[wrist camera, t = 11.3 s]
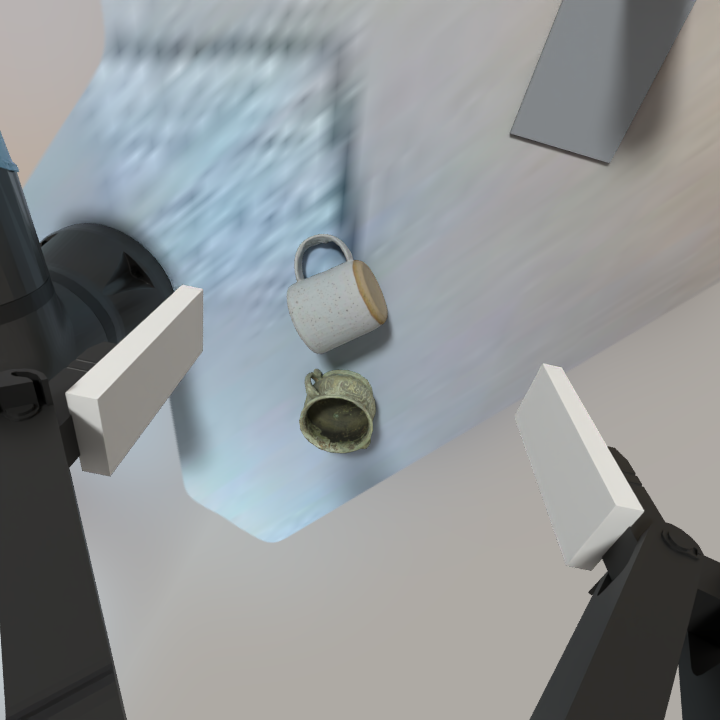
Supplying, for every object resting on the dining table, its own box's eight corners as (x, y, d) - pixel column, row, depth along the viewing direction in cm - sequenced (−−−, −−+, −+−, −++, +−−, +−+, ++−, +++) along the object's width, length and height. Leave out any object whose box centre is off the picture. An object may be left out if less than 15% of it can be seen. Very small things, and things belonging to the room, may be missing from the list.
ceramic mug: (394, 305, 47) (390, 338, 40) (329, 332, 49) (316, 368, 43) (347, 215, 42) (334, 236, 36) (279, 251, 45) (255, 277, 38)
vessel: (399, 409, 54) (397, 444, 49) (346, 437, 58) (339, 472, 53) (340, 342, 50) (331, 372, 45) (286, 376, 54) (272, 408, 48)
